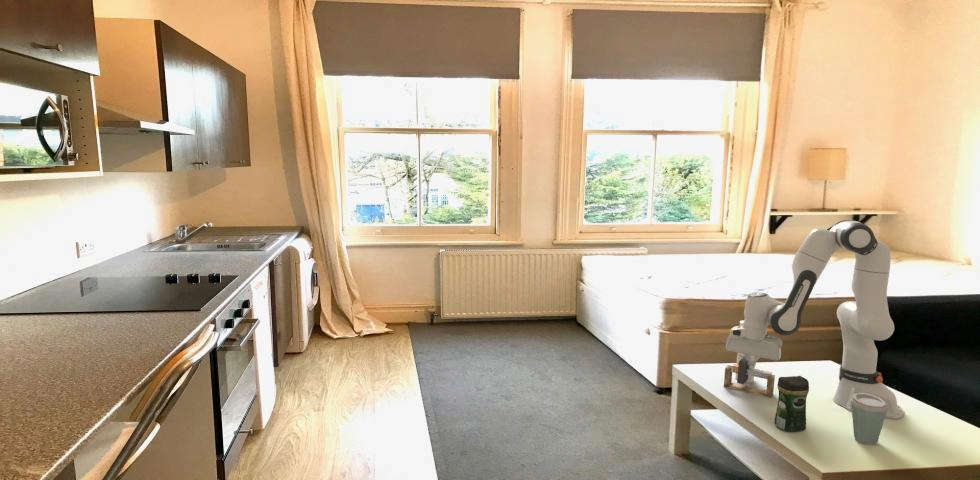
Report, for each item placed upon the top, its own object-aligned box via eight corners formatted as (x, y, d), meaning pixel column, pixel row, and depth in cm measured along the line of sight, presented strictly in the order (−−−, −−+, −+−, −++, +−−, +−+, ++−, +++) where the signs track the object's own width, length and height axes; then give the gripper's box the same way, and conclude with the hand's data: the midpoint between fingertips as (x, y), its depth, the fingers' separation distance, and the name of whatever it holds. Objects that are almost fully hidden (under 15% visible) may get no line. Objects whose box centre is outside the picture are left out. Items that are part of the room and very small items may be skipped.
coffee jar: (793, 421, 205) (798, 372, 202) (809, 431, 197) (814, 380, 194) (769, 423, 203) (774, 373, 201) (784, 433, 195) (789, 382, 193)
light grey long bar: (771, 378, 228) (772, 371, 227) (770, 380, 225) (770, 373, 225) (729, 369, 237) (730, 362, 236) (727, 371, 235) (728, 364, 234)
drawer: (773, 394, 228) (774, 375, 227) (771, 397, 225) (773, 378, 224) (726, 383, 239) (727, 365, 238) (723, 386, 236) (725, 367, 234)
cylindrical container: (755, 383, 240) (760, 325, 236) (737, 381, 241) (742, 324, 238) (751, 376, 247) (756, 320, 243) (733, 375, 248) (738, 319, 245)
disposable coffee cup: (891, 446, 188) (897, 403, 186) (866, 450, 185) (871, 406, 183) (862, 431, 198) (867, 390, 196) (838, 435, 195) (842, 393, 193)
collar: (748, 378, 235) (749, 357, 234) (743, 384, 229) (745, 363, 228) (741, 377, 237) (743, 356, 236) (737, 383, 230) (738, 361, 229)
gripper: (784, 335, 225) (781, 369, 227) (729, 326, 237) (727, 358, 239) (781, 339, 220) (778, 374, 222) (726, 329, 231) (723, 362, 233)
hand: (751, 365), depth 230 cm, fingers closed
